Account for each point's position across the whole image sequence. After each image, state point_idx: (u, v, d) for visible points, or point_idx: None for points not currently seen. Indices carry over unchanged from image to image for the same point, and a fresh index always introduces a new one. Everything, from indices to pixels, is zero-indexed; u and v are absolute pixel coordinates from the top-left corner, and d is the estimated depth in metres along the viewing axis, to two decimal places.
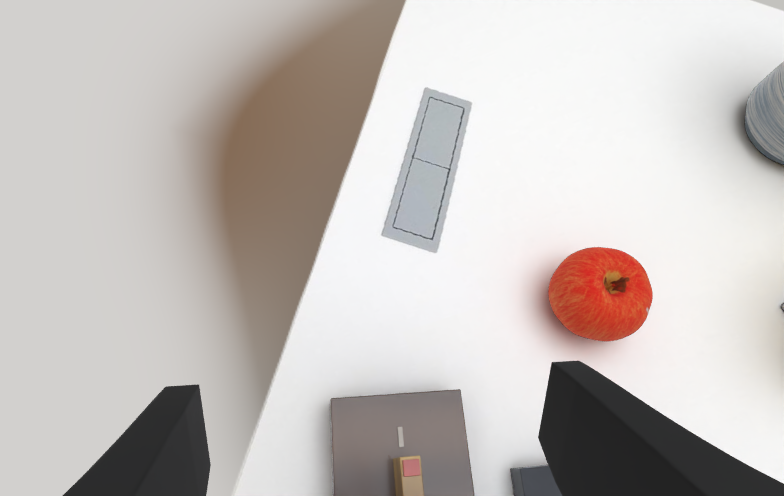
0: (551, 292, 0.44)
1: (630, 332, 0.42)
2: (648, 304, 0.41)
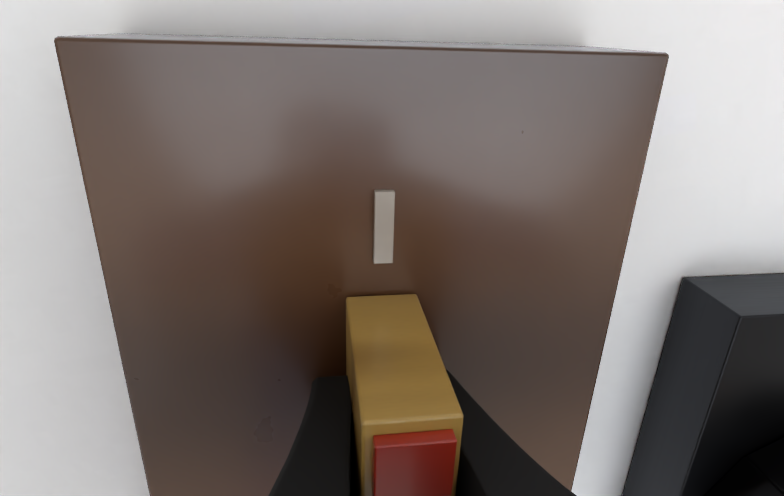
0: None
1: None
2: None
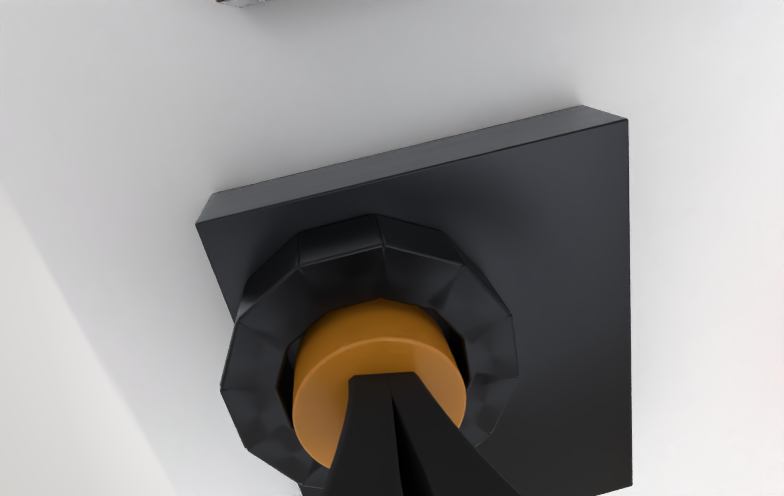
0: None
1: None
2: None
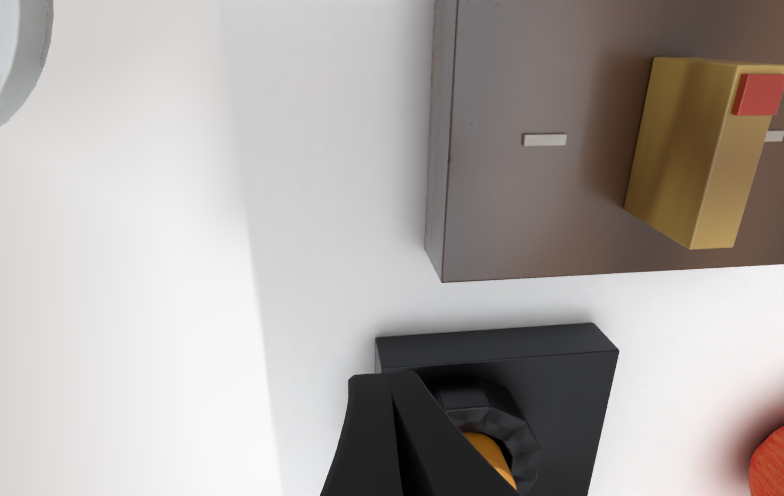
0: None
1: None
2: None
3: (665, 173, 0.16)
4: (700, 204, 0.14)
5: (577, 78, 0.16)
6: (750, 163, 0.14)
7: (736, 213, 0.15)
